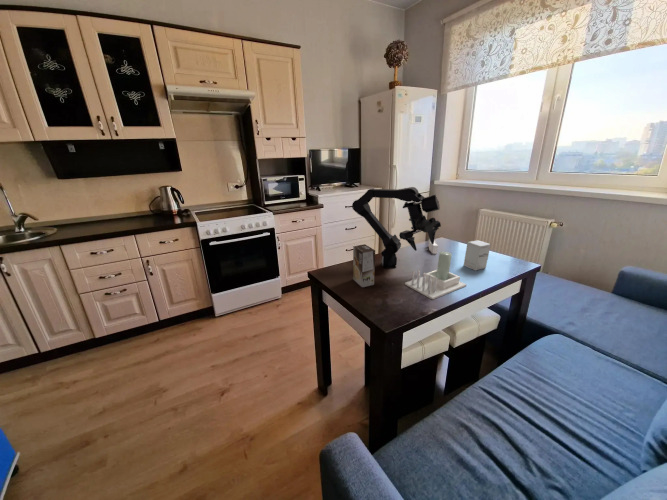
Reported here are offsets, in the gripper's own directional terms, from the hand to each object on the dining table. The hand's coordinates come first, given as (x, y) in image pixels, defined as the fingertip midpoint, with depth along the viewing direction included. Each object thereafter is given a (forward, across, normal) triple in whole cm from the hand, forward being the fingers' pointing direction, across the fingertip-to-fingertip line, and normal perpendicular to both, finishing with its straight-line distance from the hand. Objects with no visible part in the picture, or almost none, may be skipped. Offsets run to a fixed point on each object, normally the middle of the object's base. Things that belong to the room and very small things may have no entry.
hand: (424, 247), depth 126 cm
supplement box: (+19, +24, 0) cm, 31 cm away
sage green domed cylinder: (+14, -2, -10) cm, 17 cm away
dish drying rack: (+14, -6, -11) cm, 19 cm away
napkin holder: (+13, +20, +26) cm, 36 cm away
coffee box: (+5, -33, +1) cm, 33 cm away
